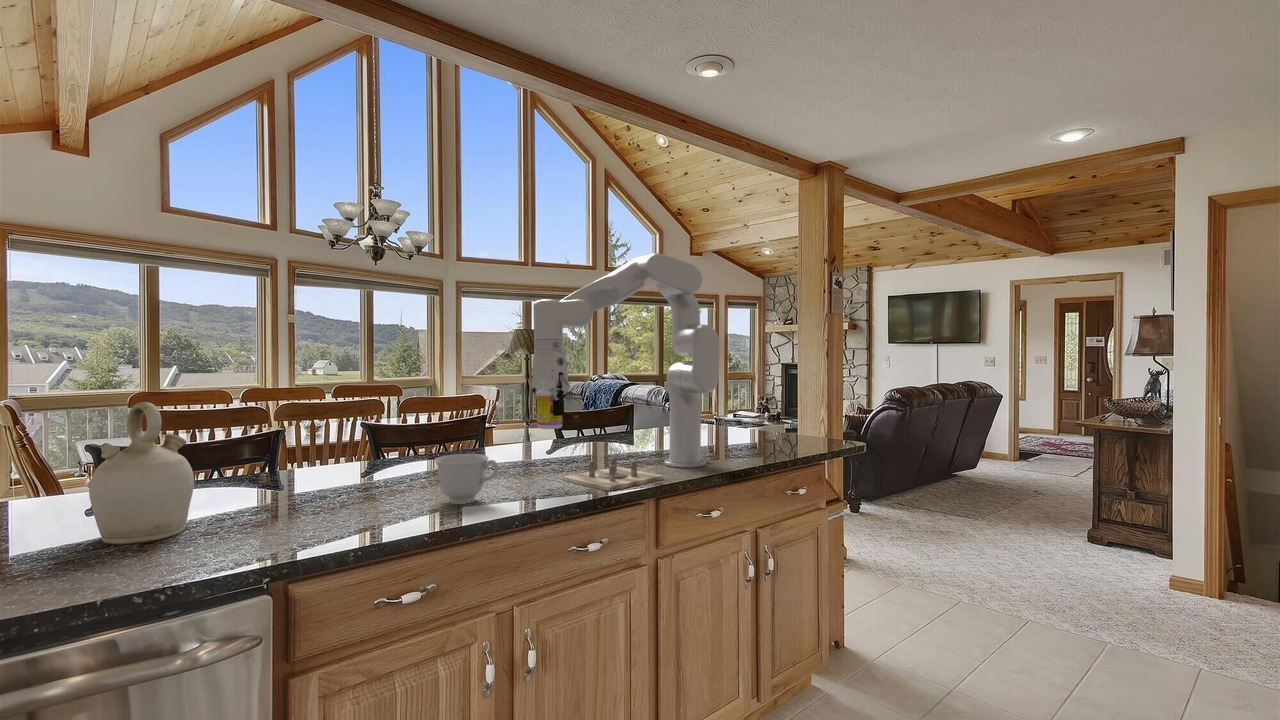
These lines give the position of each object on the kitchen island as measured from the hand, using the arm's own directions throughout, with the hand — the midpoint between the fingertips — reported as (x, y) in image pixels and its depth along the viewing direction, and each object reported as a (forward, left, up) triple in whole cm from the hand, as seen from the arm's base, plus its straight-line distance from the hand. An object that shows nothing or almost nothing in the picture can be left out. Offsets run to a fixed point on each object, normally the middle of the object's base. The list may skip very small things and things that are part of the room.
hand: (549, 413), depth 163 cm
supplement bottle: (0, 0, -4) cm, 4 cm away
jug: (+82, -16, -18) cm, 86 cm away
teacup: (+26, +4, -18) cm, 32 cm away
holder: (-14, +10, -18) cm, 25 cm away
